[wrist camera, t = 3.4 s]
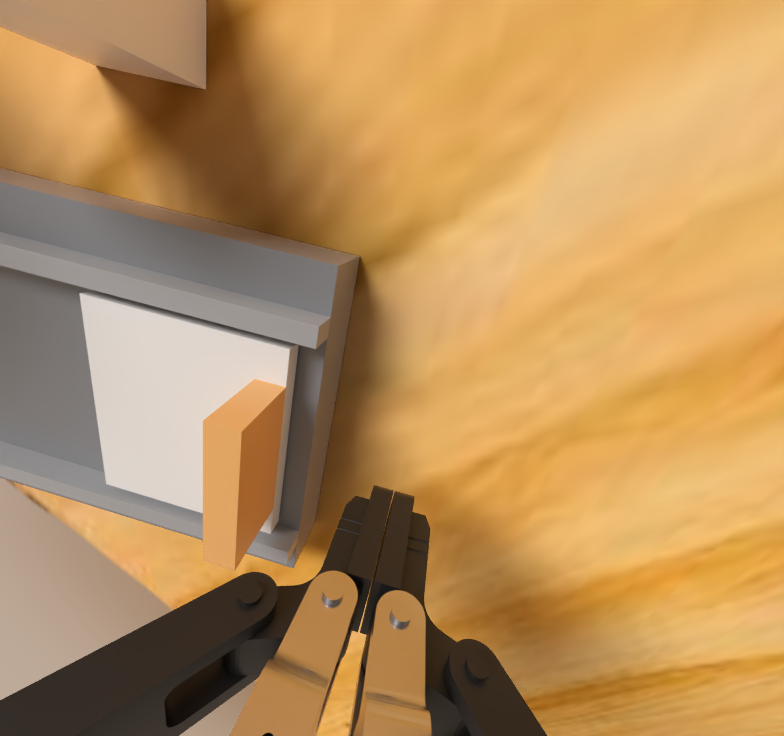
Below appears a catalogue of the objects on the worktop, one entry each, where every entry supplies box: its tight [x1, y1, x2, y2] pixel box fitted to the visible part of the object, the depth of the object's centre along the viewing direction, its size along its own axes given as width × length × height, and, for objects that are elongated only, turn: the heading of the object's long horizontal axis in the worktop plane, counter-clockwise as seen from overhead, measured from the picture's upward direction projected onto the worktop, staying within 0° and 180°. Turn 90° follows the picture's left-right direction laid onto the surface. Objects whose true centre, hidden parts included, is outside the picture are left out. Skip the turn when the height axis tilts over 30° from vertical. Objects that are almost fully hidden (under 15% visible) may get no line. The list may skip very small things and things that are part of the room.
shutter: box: [79, 290, 299, 571], centre depth 14 cm, size 8×9×4 cm
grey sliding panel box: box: [0, 168, 360, 568], centre depth 17 cm, size 18×15×4 cm
